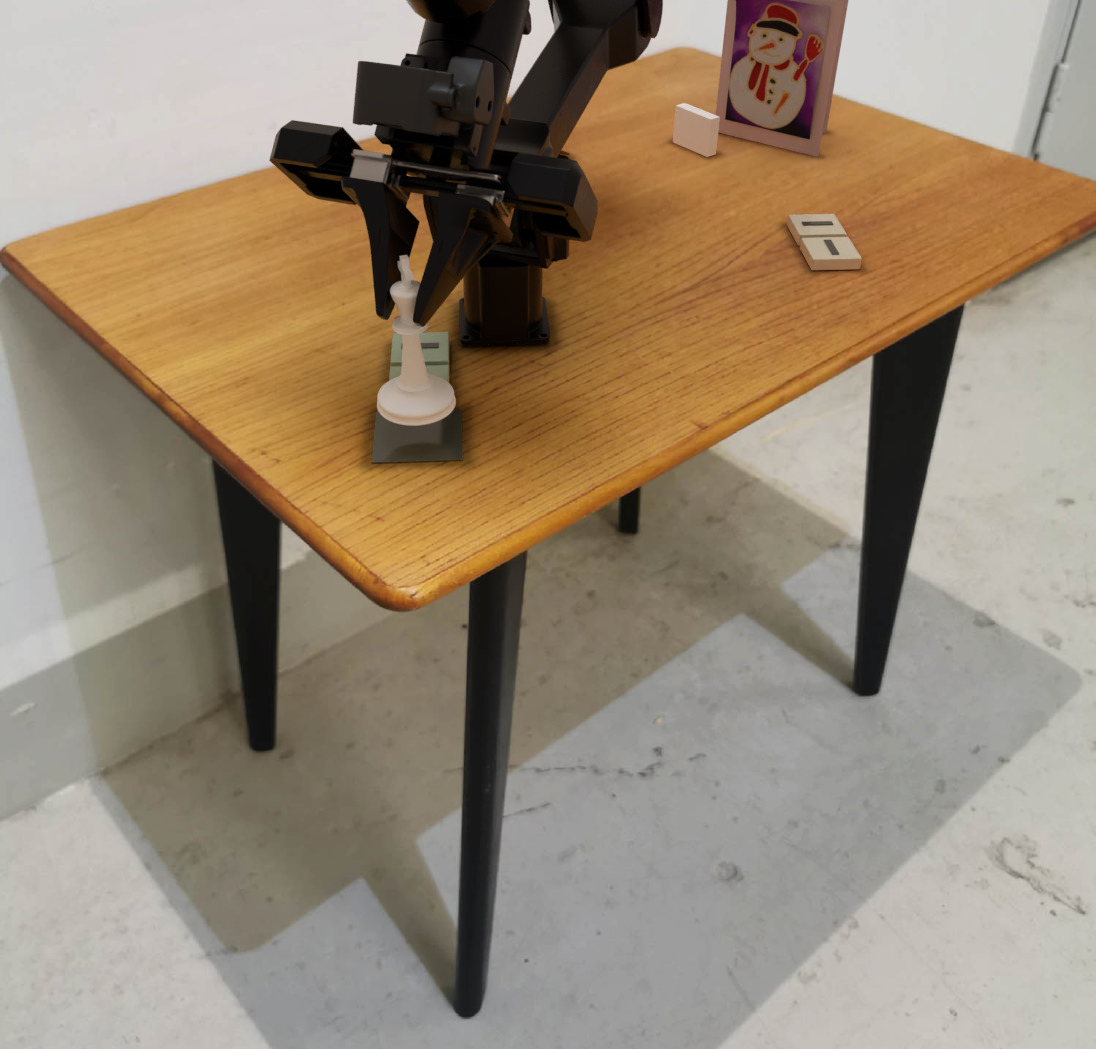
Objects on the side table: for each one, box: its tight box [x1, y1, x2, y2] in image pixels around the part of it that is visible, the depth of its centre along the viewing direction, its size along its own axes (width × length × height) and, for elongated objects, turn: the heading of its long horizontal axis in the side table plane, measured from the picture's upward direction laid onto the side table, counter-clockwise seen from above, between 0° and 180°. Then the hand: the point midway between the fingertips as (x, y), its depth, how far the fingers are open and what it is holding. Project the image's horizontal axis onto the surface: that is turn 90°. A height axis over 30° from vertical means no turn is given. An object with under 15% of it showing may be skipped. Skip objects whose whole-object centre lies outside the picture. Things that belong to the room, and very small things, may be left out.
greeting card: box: [715, 0, 849, 158], centre depth 108 cm, size 11×7×15 cm, turn 55°
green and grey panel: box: [371, 331, 464, 464], centre depth 75 cm, size 14×6×1 cm, turn 4°
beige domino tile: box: [786, 213, 863, 271], centre depth 93 cm, size 8×4×1 cm, turn 4°
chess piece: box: [376, 255, 457, 426], centre depth 67 cm, size 5×5×10 cm
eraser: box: [672, 102, 720, 158], centre depth 109 cm, size 1×5×4 cm, turn 39°
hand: (399, 321), depth 65 cm, fingers closed on chess piece
